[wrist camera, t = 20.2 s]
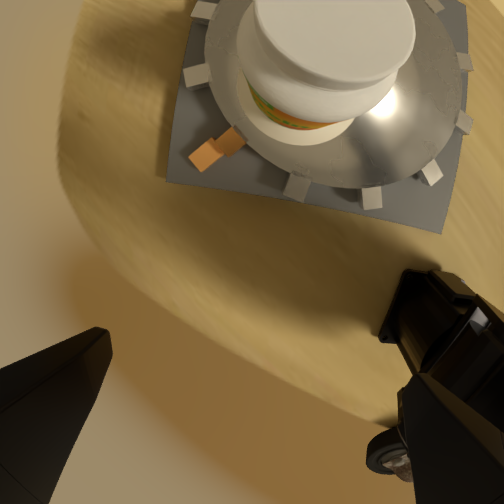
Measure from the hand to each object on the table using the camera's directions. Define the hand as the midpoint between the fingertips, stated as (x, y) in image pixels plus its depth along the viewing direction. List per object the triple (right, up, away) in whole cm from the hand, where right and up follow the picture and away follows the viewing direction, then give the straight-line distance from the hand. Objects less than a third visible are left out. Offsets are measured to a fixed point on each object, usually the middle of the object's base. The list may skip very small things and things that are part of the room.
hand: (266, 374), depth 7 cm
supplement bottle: (+2, +12, +7) cm, 14 cm away
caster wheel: (+19, -20, +21) cm, 35 cm away
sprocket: (+6, +16, +6) cm, 18 cm away
